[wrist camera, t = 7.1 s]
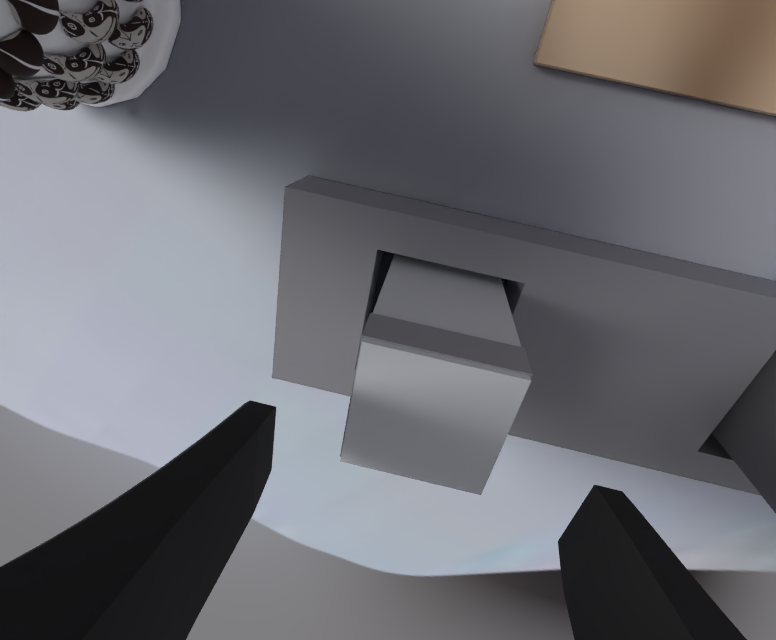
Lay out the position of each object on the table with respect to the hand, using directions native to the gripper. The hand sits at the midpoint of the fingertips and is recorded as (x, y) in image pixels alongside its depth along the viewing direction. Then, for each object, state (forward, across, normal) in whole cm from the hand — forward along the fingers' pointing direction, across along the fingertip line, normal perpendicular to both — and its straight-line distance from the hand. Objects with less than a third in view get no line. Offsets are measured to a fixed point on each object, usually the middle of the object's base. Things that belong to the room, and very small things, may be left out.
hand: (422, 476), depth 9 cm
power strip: (+9, -7, 0) cm, 12 cm away
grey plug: (+9, 0, 0) cm, 9 cm away
